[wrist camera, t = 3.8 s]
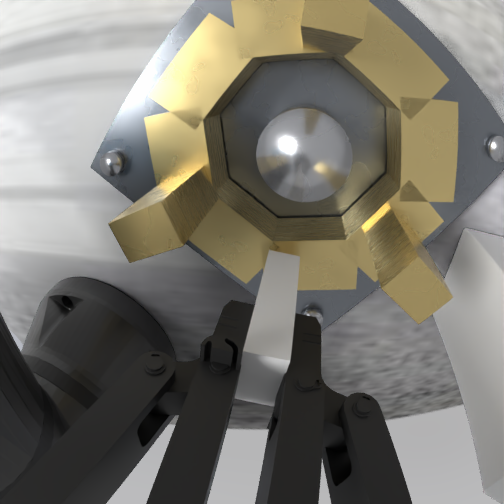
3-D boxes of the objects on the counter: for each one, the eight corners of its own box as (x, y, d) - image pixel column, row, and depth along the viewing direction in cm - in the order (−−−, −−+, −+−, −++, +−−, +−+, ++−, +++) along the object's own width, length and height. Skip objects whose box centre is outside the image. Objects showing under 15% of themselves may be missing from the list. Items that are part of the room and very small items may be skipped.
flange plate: (312, 328, 24) (309, 384, 19) (98, 163, 20) (48, 189, 15) (512, 147, 15) (561, 171, 10) (277, -73, 11) (265, -118, 6)
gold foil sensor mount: (311, 301, 21) (307, 398, 14) (130, 159, 18) (45, 207, 12) (479, 145, 14) (563, 191, 7) (283, -38, 11) (263, -113, 5)
